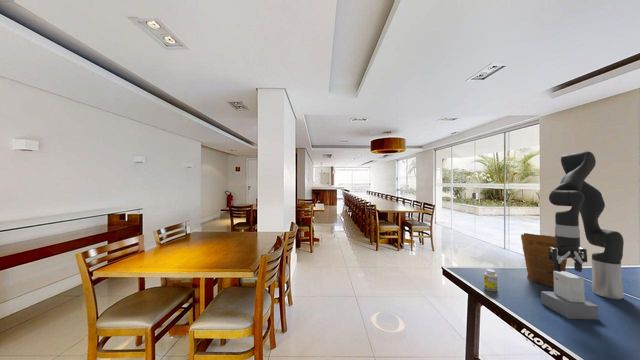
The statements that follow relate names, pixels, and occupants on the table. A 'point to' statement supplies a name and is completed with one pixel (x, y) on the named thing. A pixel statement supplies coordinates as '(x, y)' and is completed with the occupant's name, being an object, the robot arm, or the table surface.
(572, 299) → the small box
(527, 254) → the pancake mix bag
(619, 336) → the table surface
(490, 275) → the supplement bottle
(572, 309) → the base block
